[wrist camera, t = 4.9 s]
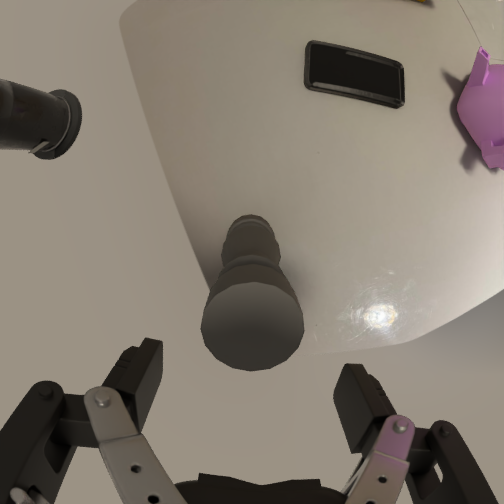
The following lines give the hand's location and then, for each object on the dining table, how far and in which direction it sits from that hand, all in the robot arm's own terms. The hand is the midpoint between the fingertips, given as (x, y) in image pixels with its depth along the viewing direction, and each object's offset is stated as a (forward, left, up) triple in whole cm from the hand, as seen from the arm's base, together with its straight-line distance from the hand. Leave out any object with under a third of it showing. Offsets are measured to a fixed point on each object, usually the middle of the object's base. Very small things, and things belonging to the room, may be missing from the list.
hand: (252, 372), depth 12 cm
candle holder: (0, 0, -29) cm, 29 cm away
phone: (+11, +26, -29) cm, 40 cm away
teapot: (+37, +28, -29) cm, 55 cm away
